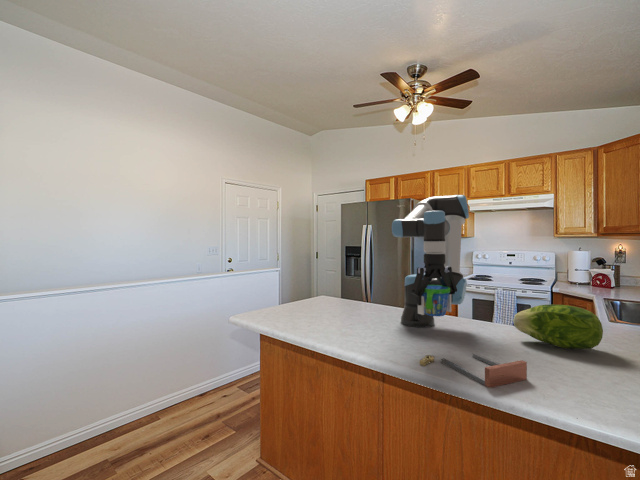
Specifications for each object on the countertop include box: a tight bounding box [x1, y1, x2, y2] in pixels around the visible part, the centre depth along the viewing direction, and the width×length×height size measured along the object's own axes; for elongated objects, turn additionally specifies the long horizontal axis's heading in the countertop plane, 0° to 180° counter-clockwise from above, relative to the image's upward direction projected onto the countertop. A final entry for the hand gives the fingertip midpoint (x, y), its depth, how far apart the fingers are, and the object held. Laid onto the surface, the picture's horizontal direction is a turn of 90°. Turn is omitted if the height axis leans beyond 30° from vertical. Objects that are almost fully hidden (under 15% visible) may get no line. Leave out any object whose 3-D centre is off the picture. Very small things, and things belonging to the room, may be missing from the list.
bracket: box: [440, 352, 528, 389], centre depth 96 cm, size 14×18×5 cm
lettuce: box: [512, 304, 604, 350], centre depth 117 cm, size 15×27×16 cm, turn 53°
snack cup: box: [422, 285, 450, 317], centre depth 115 cm, size 16×10×10 cm
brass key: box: [419, 354, 435, 367], centre depth 102 cm, size 7×3×1 cm, turn 135°
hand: (434, 312), depth 115 cm, fingers closed on snack cup, 11 cm apart
